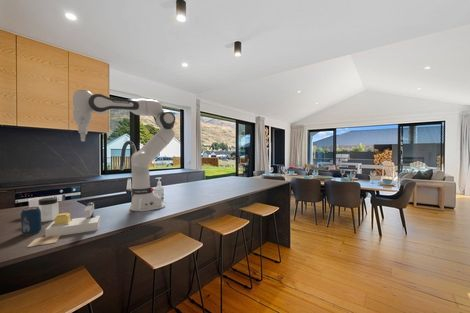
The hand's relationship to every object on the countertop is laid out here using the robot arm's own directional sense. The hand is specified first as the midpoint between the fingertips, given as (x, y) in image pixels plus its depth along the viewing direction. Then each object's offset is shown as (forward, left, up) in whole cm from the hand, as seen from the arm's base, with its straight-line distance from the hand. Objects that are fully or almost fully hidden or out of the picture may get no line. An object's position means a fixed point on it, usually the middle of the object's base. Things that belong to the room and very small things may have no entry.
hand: (83, 141), depth 123 cm
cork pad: (+10, +33, -45) cm, 57 cm away
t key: (-5, +23, -41) cm, 47 cm away
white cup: (+27, -18, -46) cm, 56 cm away
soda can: (+19, +18, -46) cm, 52 cm away
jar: (+18, -3, -46) cm, 49 cm away
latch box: (+1, +23, -45) cm, 51 cm away
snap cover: (+6, +23, -41) cm, 47 cm away
